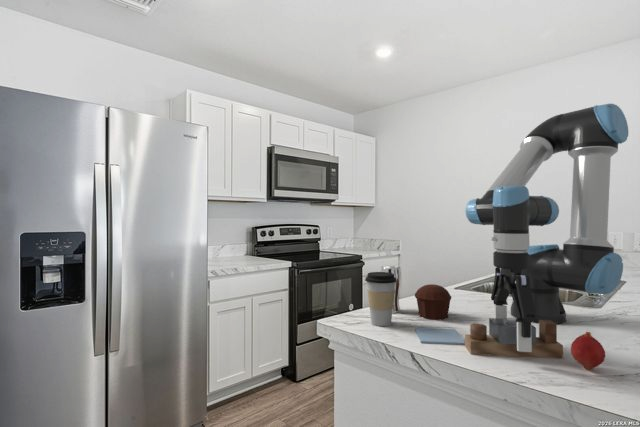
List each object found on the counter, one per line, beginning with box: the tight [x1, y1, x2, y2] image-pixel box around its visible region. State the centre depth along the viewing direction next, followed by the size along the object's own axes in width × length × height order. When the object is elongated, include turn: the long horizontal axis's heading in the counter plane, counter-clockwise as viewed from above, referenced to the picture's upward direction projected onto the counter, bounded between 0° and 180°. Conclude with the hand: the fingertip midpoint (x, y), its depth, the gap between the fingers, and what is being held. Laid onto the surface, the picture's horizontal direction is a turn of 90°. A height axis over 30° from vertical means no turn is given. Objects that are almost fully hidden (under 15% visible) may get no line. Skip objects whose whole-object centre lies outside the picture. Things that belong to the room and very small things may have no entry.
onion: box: [570, 331, 606, 371], centre depth 74 cm, size 6×6×8 cm
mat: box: [414, 327, 465, 346], centre depth 95 cm, size 11×11×1 cm
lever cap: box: [488, 317, 537, 345], centre depth 84 cm, size 8×6×5 cm
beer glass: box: [380, 265, 402, 314], centre depth 121 cm, size 7×7×15 cm
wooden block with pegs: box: [464, 320, 564, 359], centre depth 84 cm, size 20×5×8 cm, turn 82°
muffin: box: [414, 283, 453, 321], centre depth 114 cm, size 12×11×10 cm
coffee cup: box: [364, 271, 396, 327], centre depth 107 cm, size 9×9×15 cm
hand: (511, 340), depth 84 cm, fingers open, 13 cm apart
